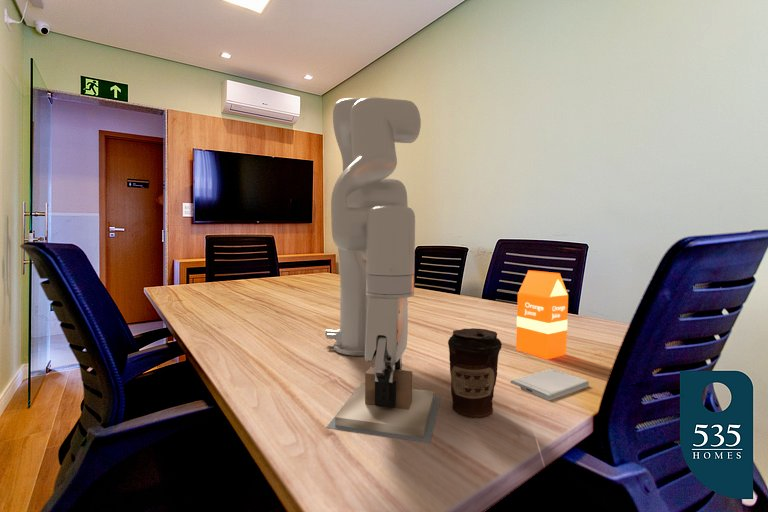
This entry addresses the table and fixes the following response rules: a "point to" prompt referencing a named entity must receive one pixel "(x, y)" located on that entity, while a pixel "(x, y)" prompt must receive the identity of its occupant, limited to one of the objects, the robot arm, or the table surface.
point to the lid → (399, 420)
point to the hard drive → (550, 384)
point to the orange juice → (542, 315)
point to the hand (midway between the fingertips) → (388, 398)
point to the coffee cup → (473, 371)
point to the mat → (426, 436)
